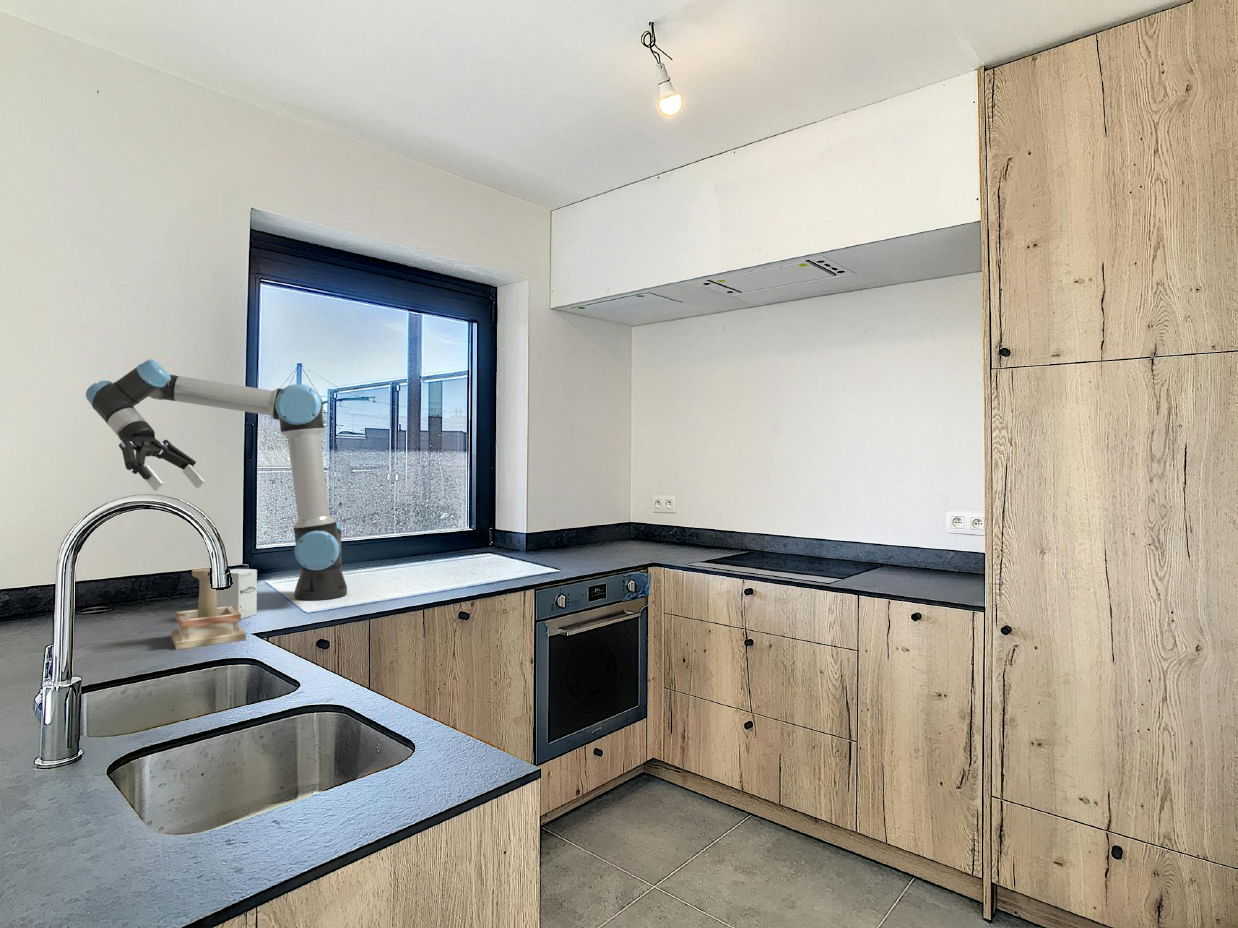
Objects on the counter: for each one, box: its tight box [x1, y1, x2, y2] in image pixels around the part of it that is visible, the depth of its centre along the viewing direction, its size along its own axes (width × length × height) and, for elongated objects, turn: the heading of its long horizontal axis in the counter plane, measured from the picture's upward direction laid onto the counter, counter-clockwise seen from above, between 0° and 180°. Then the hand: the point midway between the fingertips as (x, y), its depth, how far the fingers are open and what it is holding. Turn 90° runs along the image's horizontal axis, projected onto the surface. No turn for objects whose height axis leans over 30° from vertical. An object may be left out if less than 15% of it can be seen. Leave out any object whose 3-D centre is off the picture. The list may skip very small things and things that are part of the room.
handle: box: [191, 567, 217, 618], centre depth 166 cm, size 5×6×15 cm
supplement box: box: [216, 568, 258, 620], centre depth 188 cm, size 7×7×13 cm
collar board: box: [170, 606, 247, 650], centre depth 166 cm, size 14×14×6 cm
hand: (180, 486), depth 183 cm, fingers open, 13 cm apart
